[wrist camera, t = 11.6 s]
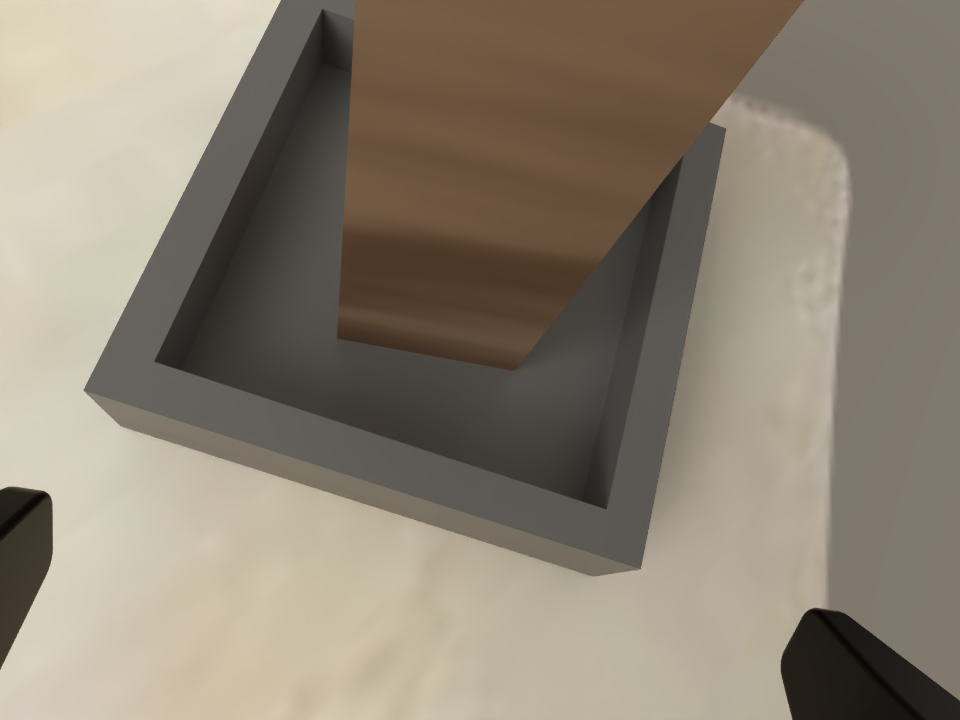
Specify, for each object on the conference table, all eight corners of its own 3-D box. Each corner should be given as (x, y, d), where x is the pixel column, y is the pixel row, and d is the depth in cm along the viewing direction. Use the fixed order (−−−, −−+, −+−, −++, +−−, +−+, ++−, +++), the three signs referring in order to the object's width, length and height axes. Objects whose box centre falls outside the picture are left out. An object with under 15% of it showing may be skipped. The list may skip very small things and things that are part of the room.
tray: (593, 576, 19) (640, 569, 16) (120, 426, 18) (83, 390, 15) (677, 187, 23) (726, 128, 20) (301, 48, 22) (298, -35, 19)
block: (514, 371, 19) (921, -152, 6) (337, 338, 19) (373, -321, 6) (531, 217, 21) (886, -459, 8) (368, 182, 20) (454, -620, 7)
